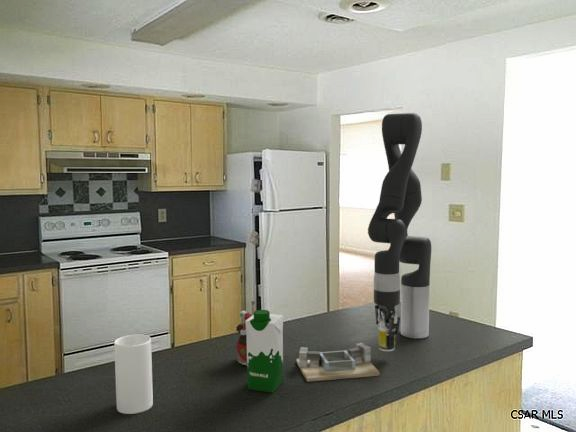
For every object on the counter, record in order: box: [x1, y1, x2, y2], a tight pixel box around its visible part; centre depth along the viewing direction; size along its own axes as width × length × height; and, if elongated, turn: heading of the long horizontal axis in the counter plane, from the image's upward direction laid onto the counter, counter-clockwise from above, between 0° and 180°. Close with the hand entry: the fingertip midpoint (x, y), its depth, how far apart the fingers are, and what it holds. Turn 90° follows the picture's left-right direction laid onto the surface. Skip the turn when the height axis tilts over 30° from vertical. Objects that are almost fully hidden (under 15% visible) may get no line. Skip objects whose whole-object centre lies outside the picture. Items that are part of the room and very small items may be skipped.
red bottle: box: [236, 300, 256, 366], centre depth 146 cm, size 11×9×18 cm
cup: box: [113, 334, 154, 415], centre depth 118 cm, size 8×8×16 cm
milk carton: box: [244, 309, 284, 394], centre depth 129 cm, size 9×9×20 cm
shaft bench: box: [295, 342, 380, 382], centre depth 140 cm, size 14×21×5 cm
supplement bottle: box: [378, 320, 396, 352], centre depth 146 cm, size 5×5×8 cm
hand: (386, 344), depth 147 cm, fingers closed on supplement bottle, 4 cm apart
